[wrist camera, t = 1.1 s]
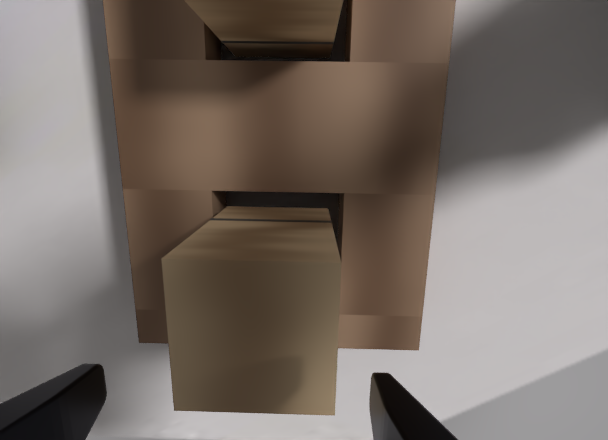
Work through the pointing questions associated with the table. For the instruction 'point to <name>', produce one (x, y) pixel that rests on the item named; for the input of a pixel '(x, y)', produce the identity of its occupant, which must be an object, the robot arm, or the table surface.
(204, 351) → the oak peg
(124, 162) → the walnut board
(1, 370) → the table surface
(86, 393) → the robot arm
